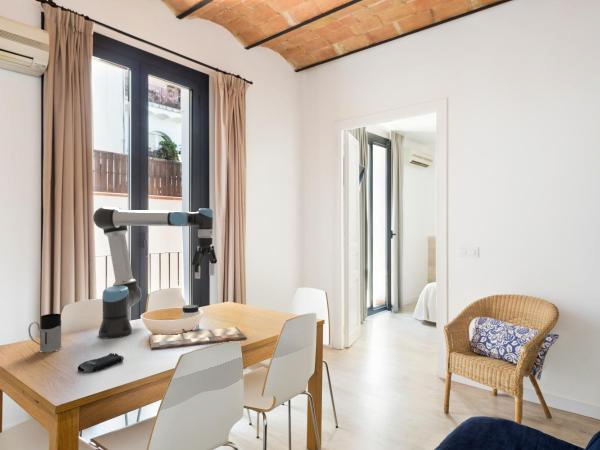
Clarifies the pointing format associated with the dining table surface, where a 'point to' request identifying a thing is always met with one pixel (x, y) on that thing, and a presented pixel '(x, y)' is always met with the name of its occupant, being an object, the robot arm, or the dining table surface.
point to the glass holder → (49, 332)
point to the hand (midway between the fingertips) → (204, 276)
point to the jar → (190, 312)
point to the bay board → (196, 338)
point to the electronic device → (100, 363)
